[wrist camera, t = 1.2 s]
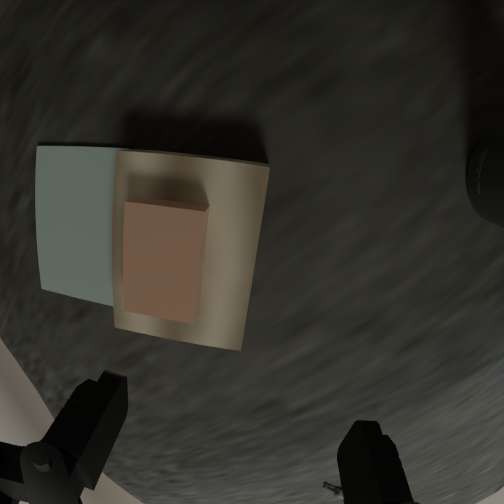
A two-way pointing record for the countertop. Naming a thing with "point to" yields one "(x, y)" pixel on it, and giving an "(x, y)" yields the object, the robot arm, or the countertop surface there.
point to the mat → (75, 220)
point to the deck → (217, 239)
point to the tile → (163, 257)
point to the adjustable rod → (335, 491)
